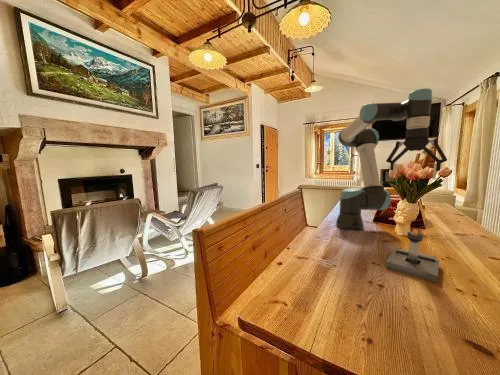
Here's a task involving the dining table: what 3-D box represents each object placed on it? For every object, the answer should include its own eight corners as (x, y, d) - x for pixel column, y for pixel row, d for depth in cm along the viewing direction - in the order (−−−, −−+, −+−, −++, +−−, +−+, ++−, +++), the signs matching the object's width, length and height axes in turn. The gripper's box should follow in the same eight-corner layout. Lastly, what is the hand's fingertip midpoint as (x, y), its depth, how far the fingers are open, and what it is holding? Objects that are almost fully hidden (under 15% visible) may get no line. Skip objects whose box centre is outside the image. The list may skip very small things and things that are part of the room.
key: (405, 262, 78) (408, 228, 76) (419, 266, 75) (423, 230, 73) (404, 268, 74) (407, 231, 72) (419, 272, 71) (423, 234, 70)
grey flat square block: (385, 267, 75) (386, 257, 74) (393, 255, 84) (394, 245, 84) (436, 283, 65) (438, 271, 64) (438, 266, 75) (439, 256, 74)
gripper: (380, 131, 91) (377, 177, 94) (459, 123, 73) (453, 180, 76) (384, 132, 96) (381, 176, 99) (459, 125, 79) (453, 179, 81)
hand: (412, 178), depth 88 cm, fingers open, 13 cm apart
